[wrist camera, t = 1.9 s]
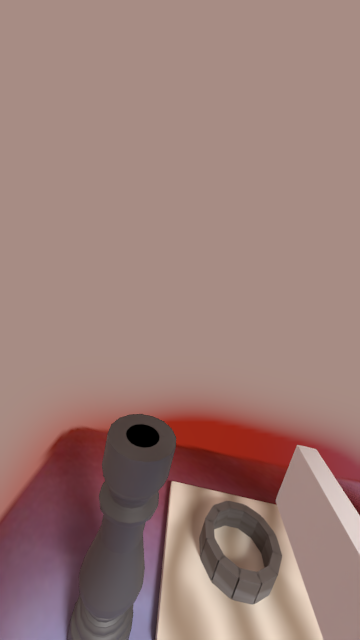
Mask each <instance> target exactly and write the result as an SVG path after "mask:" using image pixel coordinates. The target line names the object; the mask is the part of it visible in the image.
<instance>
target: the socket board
mask: <svg viewBox="0 0 360 640" xmlns="http://www.w3.org/2000/svg"><path fill="white" fill-rule="evenodd" d="M155 640H323V637H322V634H321V631H320V628H319V625H318V622H317V620H316V617H315V614H314V611H313V608H312V605H311V602H310V599H309V596H308V593H307V591H306V588H305V585H304V582H303V579H302V576H301V573H300V570H299V567H298V564H297V562H296V559H295V556H294V553H293V550H292V547H291V544H290V541H289V538H288V535H287V533H286V530H285V527H284V524H283V521H282V518H281V515H280V512H279V509H278V507H277V505H275V504H270V503H266V502H262V501H257V500H253V499H249V498H244V497H240V496H235V495H231V494H227V493H222V492H218V491H214V490H209V489H205V488H200V487H196V486H192V485H187V484H183V483H179V482H174V481H172V482H171V486H170V494H169V504H168V514H167V524H166V534H165V544H164V554H163V564H162V574H161V584H160V594H159V604H158V614H157V625H156V635H155Z"/></svg>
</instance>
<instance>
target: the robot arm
mask: <svg viewBox="0 0 360 640" xmlns="http://www.w3.org/2000/svg"><path fill="white" fill-rule="evenodd" d="M275 501H276V504H277V507H278V509H279V512H280V515H281V518H282V521H283V524H284V527H285V530H286V533H287V535H288V538H289V541H290V544H291V547H292V550H293V553H294V556H295V559H296V562H297V564H298V567H299V570H300V573H301V576H302V579H303V582H304V585H305V588H306V591H307V593H308V596H309V599H310V602H311V605H312V608H313V611H314V614H315V617H316V620H317V622H318V625H319V628H320V631H321V634H322V637H323V640H360V515H359V514H358V512H357V511H356V509H355V508H354V506H353V505H352V503H351V502H350V500H349V499H348V497H347V496H346V494H345V493H344V491H343V489H342V488H341V486H340V485H339V483H338V482H337V480H336V479H335V477H334V476H333V474H332V473H331V471H330V470H329V468H328V467H327V465H326V463H325V462H324V460H323V459H322V457H321V456H320V454H319V453H318V451H317V450H316V449H313V448H309V447H304V446H300V445H297V447H296V449H295V452H294V454H293V457H292V459H291V462H290V465H289V467H288V470H287V472H286V475H285V477H284V480H283V482H282V485H281V488H280V490H279V493H278V495H277V498H276V500H275Z"/></svg>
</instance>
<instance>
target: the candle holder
mask: <svg viewBox="0 0 360 640" xmlns="http://www.w3.org/2000/svg"><path fill="white" fill-rule="evenodd" d="M175 448H176V436H175V434H174V432H173V431H172V429H171V428H170V427H169V426H168V425H167V424H166V423H165V422H164V421H162V420H159V419H157V418H155V417H153V416H148V415H143V414H133V415H127V416H124V417H121V418H119V419H118V420H116V421H115V422H114V423H113V424H111V427H110V429H109V432H108V436H107V441H106V446H105V452H104V457H103V462H102V469H103V476H104V478H105V482H104V483H103V485H102V488H101V491H100V494H99V501H100V509H101V511H102V512H103V514H104V515H103V520H102V525H101V527H100V529H99V531H98V533H97V535H96V537H95V539H94V540H93V542H92V544H91V546H90V548H89V550H88V552H87V554H86V555H85V557H84V560H83V563H82V566H81V570H80V573H79V593H80V594H79V598H78V600H77V602H76V604H75V607H74V610H73V613H72V617H71V621H70V626H69V632H68V637H67V640H128V639H129V635H130V631H131V626H132V618H133V603H134V602H135V600H136V598H137V596H138V594H139V592H140V590H141V588H142V584H143V577H144V569H145V566H144V548H143V530H144V526H145V522H146V521H148V520H149V519H150V518H151V517H152V515H153V514H154V512H155V510H156V508H157V506H158V499H159V493H158V491H159V489H160V488H161V487H162V486H163V485H164V483H165V481H166V480H167V478H168V475H169V471H170V467H171V463H172V459H173V455H174V452H175Z"/></svg>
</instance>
